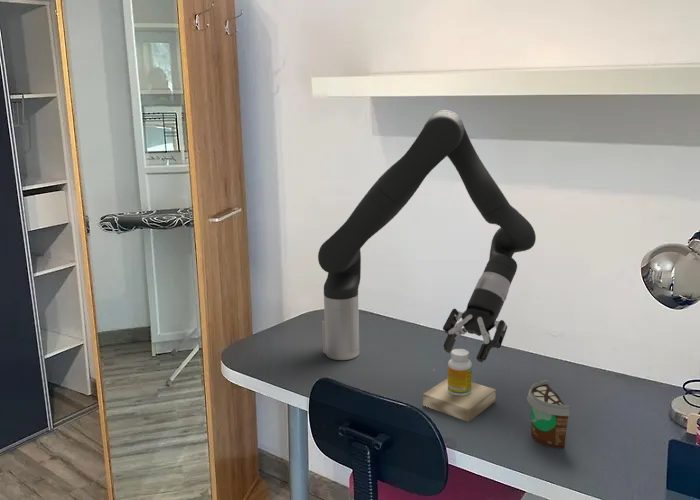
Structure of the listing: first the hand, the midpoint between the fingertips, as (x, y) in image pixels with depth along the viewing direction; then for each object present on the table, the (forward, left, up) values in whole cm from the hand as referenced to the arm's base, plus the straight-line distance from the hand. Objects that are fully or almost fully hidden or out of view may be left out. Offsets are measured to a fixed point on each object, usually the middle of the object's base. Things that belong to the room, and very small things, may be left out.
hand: (462, 355), depth 152 cm
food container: (+21, -3, -12) cm, 24 cm away
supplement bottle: (0, -1, -9) cm, 9 cm away
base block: (0, -1, -11) cm, 12 cm away
